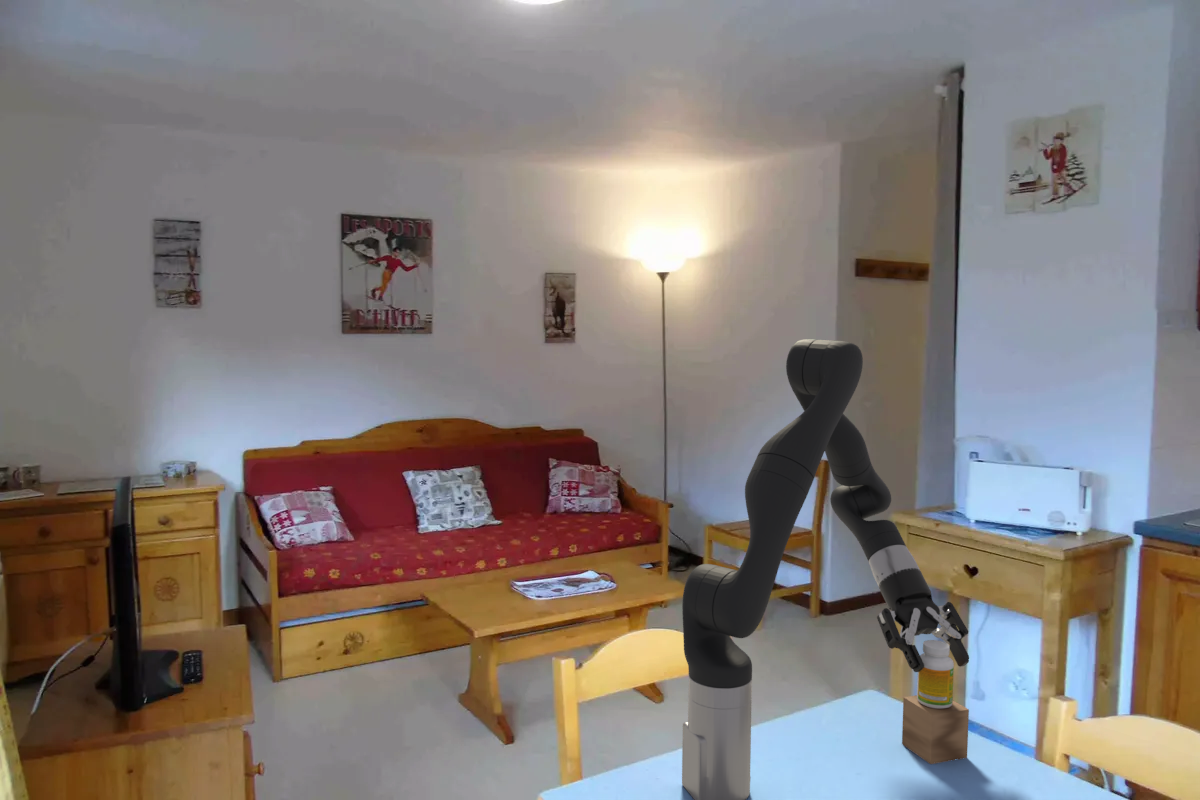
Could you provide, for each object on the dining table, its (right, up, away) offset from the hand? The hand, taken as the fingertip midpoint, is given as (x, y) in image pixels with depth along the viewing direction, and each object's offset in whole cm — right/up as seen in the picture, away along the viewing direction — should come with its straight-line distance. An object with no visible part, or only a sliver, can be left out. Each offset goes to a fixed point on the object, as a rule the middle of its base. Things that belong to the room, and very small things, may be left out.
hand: (942, 667), depth 135 cm
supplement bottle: (-1, -6, +2) cm, 7 cm away
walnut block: (0, -14, +2) cm, 14 cm away
